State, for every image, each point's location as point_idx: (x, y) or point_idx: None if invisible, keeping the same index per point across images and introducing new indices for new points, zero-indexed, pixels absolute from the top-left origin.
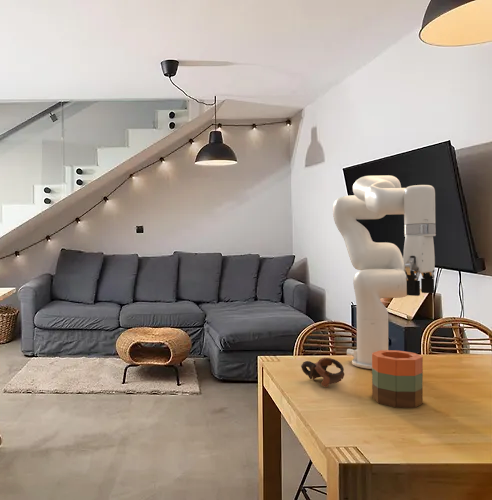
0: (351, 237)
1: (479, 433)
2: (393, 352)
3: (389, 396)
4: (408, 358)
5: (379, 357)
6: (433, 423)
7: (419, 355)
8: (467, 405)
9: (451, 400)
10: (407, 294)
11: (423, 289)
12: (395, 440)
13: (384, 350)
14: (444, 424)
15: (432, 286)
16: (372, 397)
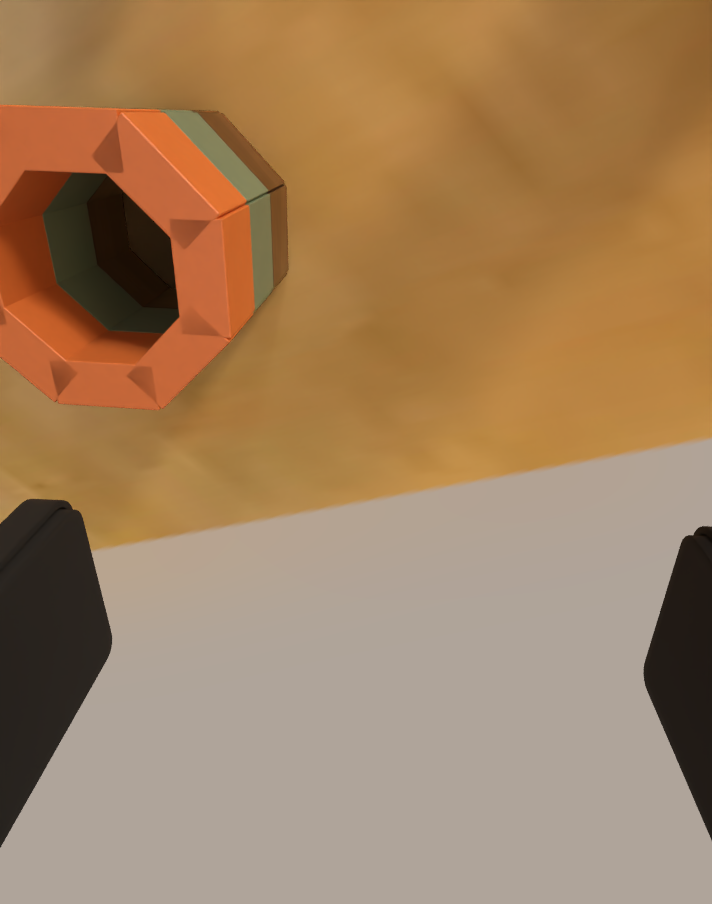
0: None
1: (94, 535)
2: (149, 216)
3: None
4: (57, 365)
5: None
6: (57, 423)
7: (184, 384)
8: (348, 450)
9: (372, 392)
10: (32, 508)
11: (699, 597)
12: None
13: (137, 141)
14: (79, 450)
15: (688, 773)
16: None
